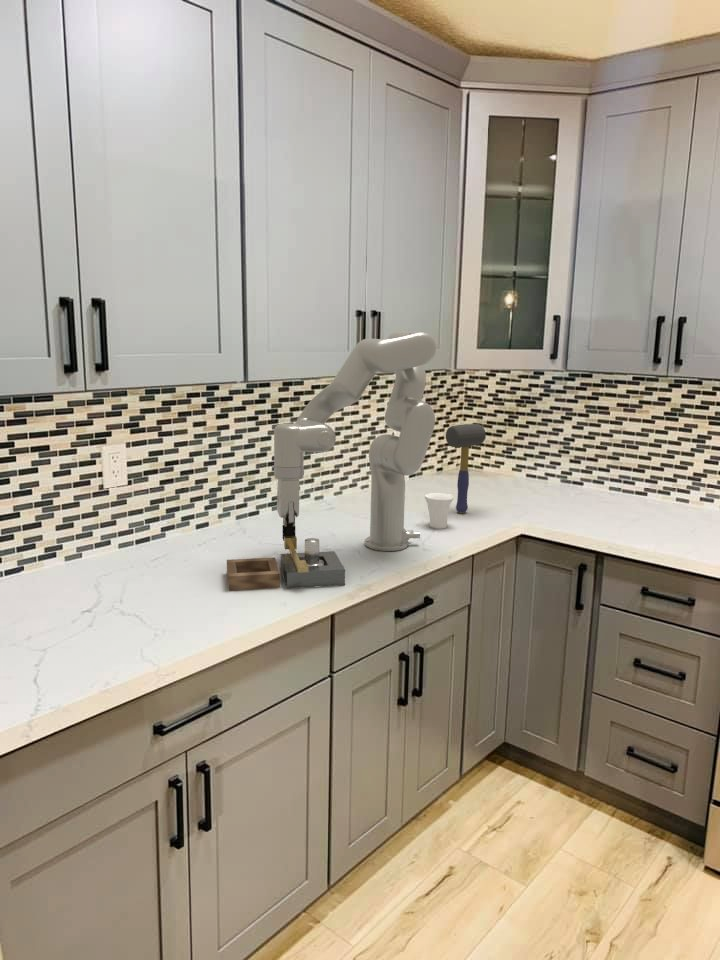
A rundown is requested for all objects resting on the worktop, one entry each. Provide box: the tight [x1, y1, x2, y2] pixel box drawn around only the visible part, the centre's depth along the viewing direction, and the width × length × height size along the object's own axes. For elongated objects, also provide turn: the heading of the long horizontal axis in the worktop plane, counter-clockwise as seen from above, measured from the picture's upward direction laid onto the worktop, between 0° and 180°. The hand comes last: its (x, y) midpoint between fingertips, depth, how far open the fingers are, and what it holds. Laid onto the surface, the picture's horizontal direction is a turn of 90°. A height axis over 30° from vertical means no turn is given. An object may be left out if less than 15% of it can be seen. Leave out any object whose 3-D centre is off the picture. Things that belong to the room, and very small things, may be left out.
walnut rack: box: [226, 556, 281, 592], centre depth 174 cm, size 12×12×4 cm
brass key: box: [283, 535, 309, 573], centre depth 177 cm, size 3×20×3 cm, turn 13°
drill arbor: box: [303, 537, 324, 566], centre depth 176 cm, size 6×6×10 cm
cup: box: [424, 492, 454, 530], centre depth 222 cm, size 9×9×10 cm
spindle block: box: [279, 550, 346, 590], centre depth 177 cm, size 14×14×4 cm
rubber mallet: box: [445, 423, 487, 514], centre depth 236 cm, size 12×8×30 cm, turn 123°
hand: (288, 540), depth 188 cm, fingers closed
